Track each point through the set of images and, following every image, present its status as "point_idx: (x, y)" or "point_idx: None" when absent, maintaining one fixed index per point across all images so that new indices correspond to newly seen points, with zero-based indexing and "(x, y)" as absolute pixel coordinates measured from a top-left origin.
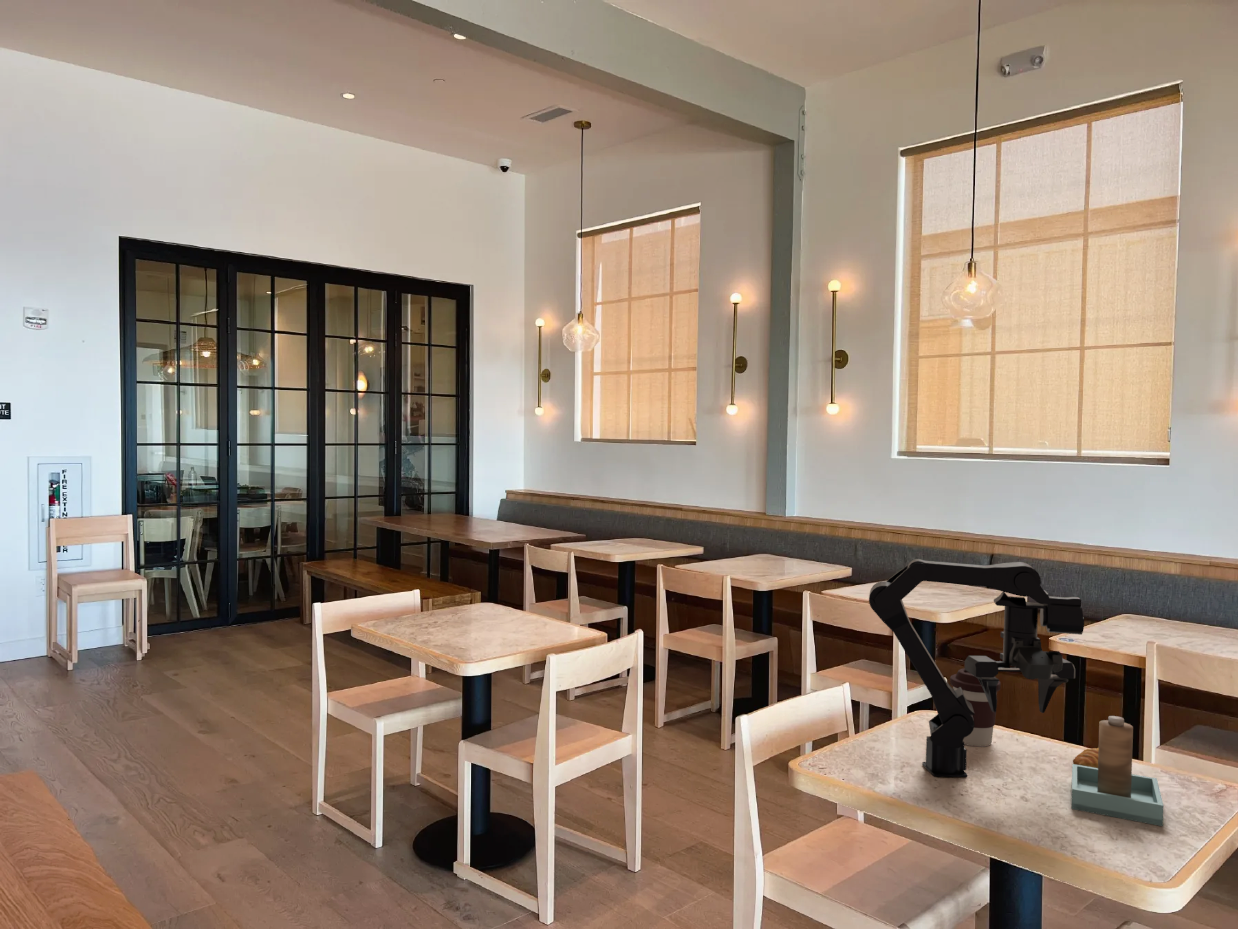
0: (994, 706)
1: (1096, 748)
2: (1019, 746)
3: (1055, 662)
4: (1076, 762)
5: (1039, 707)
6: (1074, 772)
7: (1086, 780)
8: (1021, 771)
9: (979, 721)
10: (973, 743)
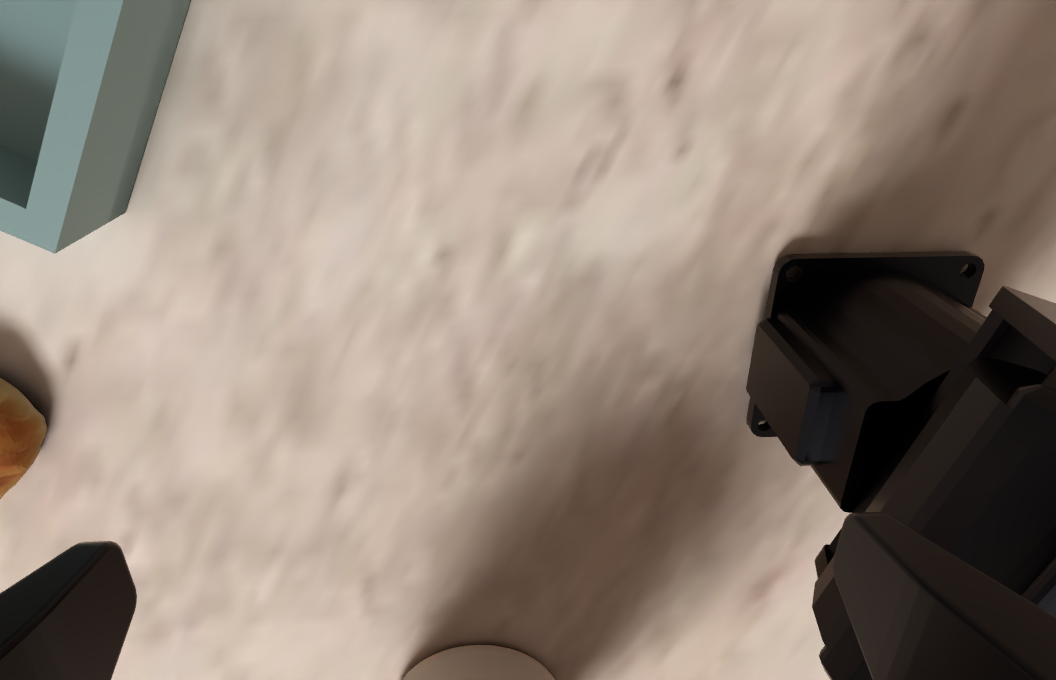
0: (949, 567)
1: None
2: (263, 666)
3: None
4: (9, 429)
5: (112, 655)
6: (86, 58)
7: (15, 155)
8: (389, 368)
9: None
10: (509, 658)
